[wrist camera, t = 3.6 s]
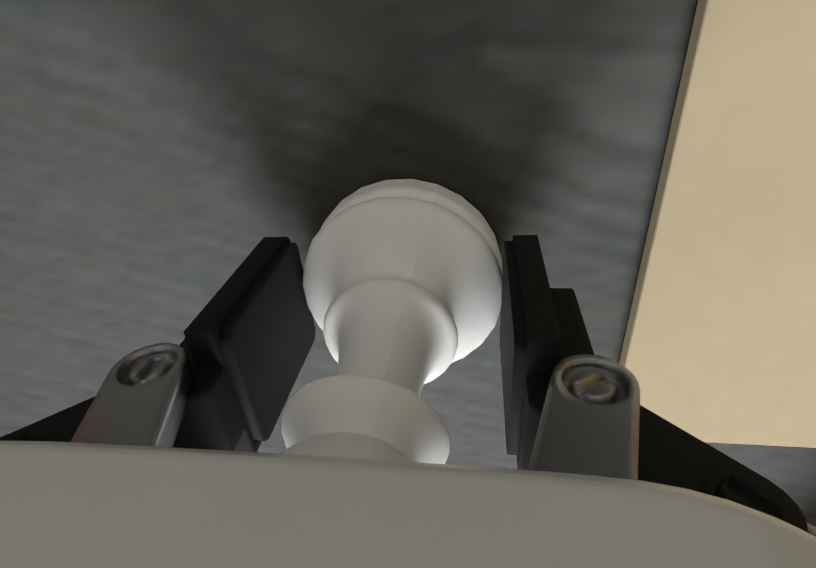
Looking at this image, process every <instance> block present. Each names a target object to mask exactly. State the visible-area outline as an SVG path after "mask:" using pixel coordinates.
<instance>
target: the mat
mask: <svg viewBox="0 0 816 568" xmlns="http://www.w3.org/2000/svg"><path fill="white" fill-rule="evenodd" d="M619 363H620V364H622V365H623V366H625V367H626V368H627V369H628V370H629V371H631V372H632V373H633V375H634V376H635V378H636V379H637V381H638V382H639V387H640V405H641V406H643V407H645V408H646V409H648V410H650V411H651V412H653V413H655V414H657V415H658V416H660V417H662V418H663V419H665V420H667V421H669V422H670V423H672V424H674V425H675V426H677V427H679V428H681V429H682V430H684V431H686V432H687V433H689V434H691V435H693V436H694V437H696V438H698V439H699V440H701V441H703V442H713V443H733V444H753V445H773V446H793V447H813V448H816V0H698V4H697V8H696V13H695V17H694V22H693V27H692V31H691V36H690V40H689V45H688V50H687V54H686V59H685V63H684V68H683V72H682V77H681V82H680V86H679V91H678V95H677V100H676V105H675V109H674V114H673V118H672V123H671V127H670V132H669V137H668V141H667V146H666V150H665V155H664V160H663V164H662V169H661V173H660V178H659V183H658V187H657V192H656V196H655V201H654V205H653V210H652V215H651V219H650V224H649V228H648V233H647V238H646V242H645V247H644V251H643V256H642V261H641V265H640V270H639V274H638V279H637V283H636V288H635V293H634V297H633V302H632V306H631V311H630V316H629V320H628V325H627V329H626V334H625V339H624V343H623V348H622V352H621V357H620V361H619Z"/></svg>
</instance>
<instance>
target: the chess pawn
mask: <svg viewBox="0 0 816 568" xmlns="http://www.w3.org/2000/svg"><path fill="white" fill-rule="evenodd" d="M303 288H304V293H305V297H306V301H307V305H308V308H309V309H310V311H311V313H312V315H313V317H314V319H315V320H316V322H317V324H318V326H319V327H320V328H321V329H322V330H323V333H324V337H325V341H326V346H327V347H328V349H329V351H330V353H331V355H332V356H333V358H334V359H335V360H336V362H337V363H338V366H337V371H336V376H331V377H326V378H320V379H318V380H316V381H313V382H311V383H309V384H307V385H305V386H303V387H301V388H300V389H299V390H298V391H297V392H296V393H295V394H294V395H293V396H292V397H291V398H290V399H289V400H288V402H287V404H286V406H285V409H284V411H283V413H282V425H281V432H282V436H283V439H284V442H285V445H286V448H287V449H286V450H285V451H283V452H282V453H281V454H293V455H309V456H325V457H341V458H358V459H374V460H389V461H404V462H419V463H434V464H445V463H446V460H447V457H448V454H449V452H450V445H449V433H448V431H447V429H446V427H445V424H444V422H443V420H442V418H441V417H440V415H439V414H438V413H437V412H436V411H435V410H434V409H433V407H432V406H431V405H430V404H429V403H428V402H427V401H425V400H424V399H422V398H421V397H420V394H421V390H422V387H423V385H424V384H426V383H428V382H430V381H433V380H434V379H436V378H437V377H438V376H440V375H441V374H442V373H444V372H445V371H446V369H447V368H448V367H449V365H450V364H451V363H452V362H455V361H457V360H459V359H462V358H464V357H465V356H466V355H468V354H469V353H470V352H472V351H473V350H474V349H476V348H477V347H478V346H480V345H481V344H482V343H483V341H484V340H485V339H486V337H487V336H488V335H489V333H490V332H491V331H492V329H493V328H494V327H495V325H496V322H497V319H498V316H499V313H500V311H501V308H502V290H503V277H502V262H501V255H500V251H499V248H498V244H497V241H496V237H495V234H494V232H493V231H492V229H491V228H490V226H489V225H488V223H487V222H486V220H485V219H484V217H483V215H482V214H481V213H480V212H479V211H478V210H477V209H476V208H475V207H473V206H472V205H471V204H470V203H469V202H468V201H467V200H466V199H464V198H463V197H462V196H460V195H458V194H456V193H454V192H452V191H450V190H448V189H446V188H444V187H442V186H440V185H438V184H434V183H429V182H425V181H420V180H415V179H394V180H384V181H380V182H377V183H374V184H371V185H368V186H364V187H361V188H360V189H358V190H357V191H355V192H354V193H352V194H351V195H349V196H348V197H346V198H345V199H343V200H342V201H341V202H340V203H339V204H338V205H337V206H336V208H335V209H334V210H333V211H332V212H331V214H330V215H329V216H328V217H327V218H326V220H325V221H324V223H323V224H322V226H321V228H320V231H319V232H318V233H317V234H316V236H315V237H314V238H313V239H312V242H311V244H310V247H309V249H308V252H307V254H306V257H305V259H304V267H303Z"/></svg>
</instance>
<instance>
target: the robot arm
mask: <svg viewBox="0 0 816 568" xmlns="http://www.w3.org/2000/svg"><path fill="white" fill-rule="evenodd" d="M184 334H185V337H186V338H185V339H184V340H183V342H182V343H181V344H180V345H177V344H171V343H158V344H153V345H149V346H145V347H143V348H140V349H138V350H135V351H133V352H132V353H130V354H128V355H126V356H125V357H123V358H122V359H121V360H120V361H118V362H117V363H116V364H115V365H114V366H113V368H112V369H111V370H110V372H109V373H108V375H107V377H106V379H105V381H104V382H103V384H102V386H101V388H100V389H99V391H98V393H97V395H96V396H95V397H93V398H90V399H88V400H86V401H83V402H81V403H79V404H77V405H74V406H72V407H70V408H67V409H65V410H63V411H61V412H58V413H56V414H54V415H51V416H49V417H47V418H45V419H42V420H40V421H38V422H35V423H33V424H31V425H29V426H26V427H24V428H22V429H19V430H17V431H15V432H13V433H10V434H8V435H5V436H2V437H0V568H816V527H815V526H813V525H812V524H810V523H808V522H806V519H805V517H804V516H803V514H802V512H801V511H800V509H799V508H798V506H797V504H796V503H795V502H794V501H793V500H792V499H791V498H790V497H789V496H788V495H787V494H786V493H785V492H784V491H783V490H782V489H780V488H779V487H778V486H776V485H775V484H773V483H772V482H770V481H769V480H768V479H766V478H764V477H763V476H761V475H759V474H757V473H756V472H754V471H752V470H751V469H749V468H747V467H746V466H744V465H742V464H740V463H739V462H737V461H735V460H734V459H732V458H730V457H728V456H727V455H725V454H723V453H722V452H720V451H718V450H716V449H715V448H713V447H711V446H710V445H708V444H706V443H704V442H703V441H701V440H699V439H698V438H696V437H694V436H693V435H691V434H689V433H687V432H686V431H684V430H682V429H681V428H679V427H677V426H675V425H674V424H672V423H670V422H669V421H667V420H665V419H663V418H662V417H660V416H658V415H657V414H655V413H653V412H651V411H650V410H648V409H646V408H645V407H643V406H641V405H640V387H639V382H638V381H637V379H636V378H635V376H634V375H633V373H632V372H631V371H629V370H628V369H627V368H626V367H625V366H623V365H622V364H620V363H618V362H616V361H614V360H612V359H609V358H606V357H602V356H599V355H594V353H593V350H592V346H591V343H590V340H589V337H588V334H587V331H586V327H585V324H584V321H583V318H582V315H581V311H580V308H579V305H578V302H577V299H576V296H575V293H574V290H573V289H571V288H550V286H549V282H548V278H547V274H546V270H545V265H544V261H543V257H542V253H541V249H540V244H539V240H538V236H537V235H513V241H504V253H503V290H502V308H501V324H500V349H501V366H502V382H503V398H504V414H505V431H506V447H507V455H517V464H518V469H508V468H494V467H479V466H464V465H449V464H434V463H419V462H404V461H389V460H374V459H358V458H341V457H325V456H309V455H293V454H276V453H259V452H257V450H258V448H259V446H260V444H261V442H262V441H266V440H268V439H269V437H270V435H271V433H272V431H273V429H274V427H275V424H276V422H277V420H278V418H279V416H280V413H281V411H282V409H283V407H284V405H285V403H286V400H287V398H288V396H289V394H290V392H291V390H292V387H293V385H294V383H295V381H296V379H297V377H298V374H299V372H300V370H301V368H302V366H303V364H304V361H305V359H306V357H307V355H308V353H309V351H310V348H311V346H312V344H313V342H314V339H315V325H314V320H313V316H312V313H311V311H310V309H309V308H308V305H307V301H306V297H305V293H304V288H303V269H302V264H301V260H300V255H299V250H298V247H297V245H296V243H291V242H290V240H289V238H287V237H265V238H263V239H262V240H261V242H260V243H259V244H258V245H257V246H256V247H255V249H254V250H253V251H252V252H251V253H250V255H249V256H248V257H247V258H246V259H245V260H244V262H243V263H242V264H241V265H240V266H239V267H238V269H237V270H236V271H235V272H234V273H233V275H232V276H231V277H230V278H229V279H228V280H227V282H226V283H225V284H224V285H223V286H222V287H221V289H220V290H219V291H218V292H217V293H216V295H215V296H214V297H213V298H212V299H211V300H210V302H209V303H208V304H207V305H206V306H205V307H204V309H203V310H202V311H201V312H200V313H199V315H198V316H197V317H196V318H195V319H194V320H193V322H192V323H191V324H190V325H189V326H188V327H187V329H186V330H185V331H184Z"/></svg>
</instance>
